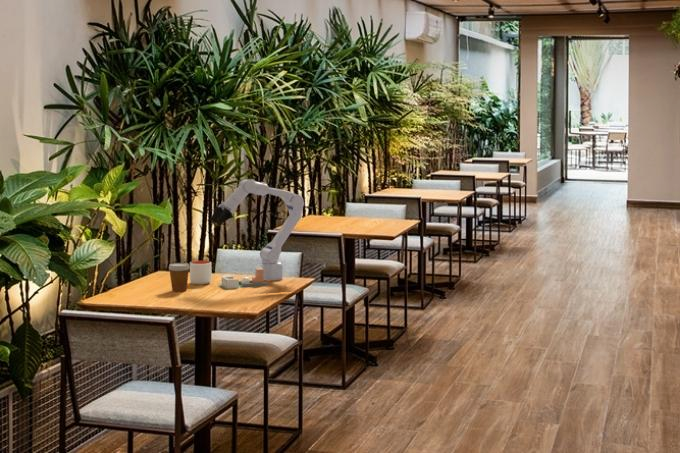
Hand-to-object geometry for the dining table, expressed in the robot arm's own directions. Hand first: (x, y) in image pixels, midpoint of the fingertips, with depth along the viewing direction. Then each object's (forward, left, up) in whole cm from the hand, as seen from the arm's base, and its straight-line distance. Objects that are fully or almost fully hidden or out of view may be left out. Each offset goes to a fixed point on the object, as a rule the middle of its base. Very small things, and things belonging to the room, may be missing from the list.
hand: (215, 222), depth 467 cm
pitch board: (-11, +8, -30) cm, 32 cm away
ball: (-11, +10, -27) cm, 31 cm away
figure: (-18, +10, -29) cm, 35 cm away
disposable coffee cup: (+19, +7, -30) cm, 36 cm away
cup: (+5, -8, -30) cm, 31 cm away
